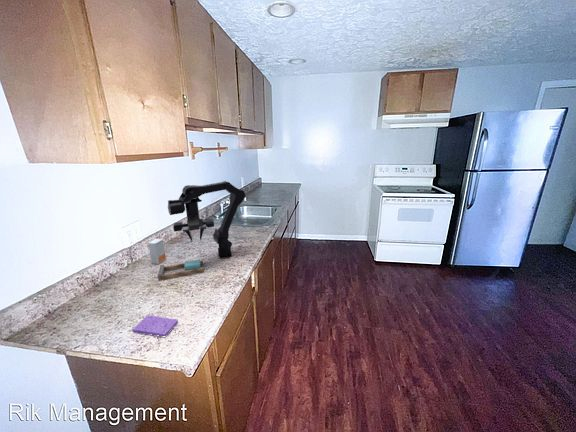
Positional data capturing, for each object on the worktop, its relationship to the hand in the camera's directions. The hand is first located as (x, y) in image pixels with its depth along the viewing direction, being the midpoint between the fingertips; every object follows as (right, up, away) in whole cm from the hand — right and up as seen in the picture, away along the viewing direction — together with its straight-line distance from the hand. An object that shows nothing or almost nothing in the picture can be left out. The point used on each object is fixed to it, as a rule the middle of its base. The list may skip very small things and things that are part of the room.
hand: (196, 240), depth 119 cm
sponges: (+1, -26, -39) cm, 47 cm away
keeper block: (-1, -15, -2) cm, 15 cm away
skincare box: (-22, -12, +6) cm, 26 cm away
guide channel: (-5, -15, -4) cm, 16 cm away
